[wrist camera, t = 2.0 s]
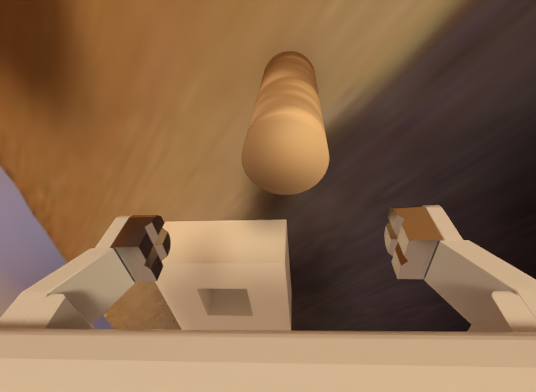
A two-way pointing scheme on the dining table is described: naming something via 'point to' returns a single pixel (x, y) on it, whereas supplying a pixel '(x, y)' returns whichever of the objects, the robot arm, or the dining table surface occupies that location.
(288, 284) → the socket block
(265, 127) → the peg
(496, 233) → the dining table surface
